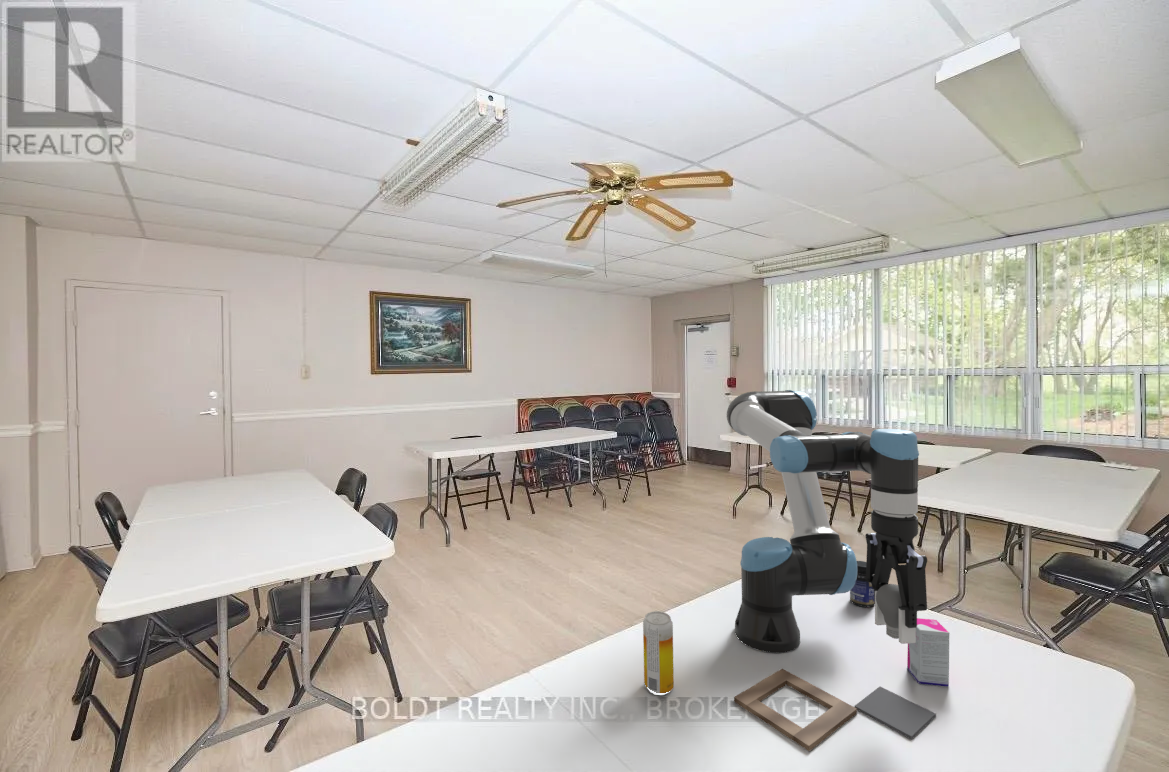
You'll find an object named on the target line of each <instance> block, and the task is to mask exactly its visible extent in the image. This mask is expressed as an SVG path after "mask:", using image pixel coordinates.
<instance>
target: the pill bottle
mask: <svg viewBox="0 0 1169 772" xmlns="http://www.w3.org/2000/svg"><path fill="white" fill-rule="evenodd" d="M856 561H857V579H856V581H855V585H854V587H853V588H852V589H851V590H850V591H849V600H850V602H851V603H853V604H854V605H855V606H858V607H862V608H873V607H875V603H874V589H873V588H872V584H871V583H870V582H867V581H866V561H865V560H856ZM872 576H874V574H872Z"/></svg>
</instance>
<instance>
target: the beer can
mask: <svg viewBox="0 0 1169 772" xmlns="http://www.w3.org/2000/svg"><path fill="white" fill-rule="evenodd" d="M673 626H674V625H673V621H672V618H671V616H670V614H668V613H666V612H664V611H656V610H655V611H650V612H648V613H646V614H645V616H644V619H643V620H642V628H643V630H642V632H643V633H642V635H643V639H642V640H643V641H642V642H643V681H644V682H643V683H645V685H646V687H648V688H649V689H650V690H652V691H654V692H656V693H666V692H669V691H672V690H673V689H674V685H675V679H674V676H675V675H674V629H673V628H674V627H673ZM645 685H644V686H645ZM646 687H645V688H646Z"/></svg>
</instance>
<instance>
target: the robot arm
mask: <svg viewBox="0 0 1169 772" xmlns="http://www.w3.org/2000/svg"><path fill="white" fill-rule="evenodd" d="M817 416H818V414H817V409H816V406H815V403H814V401H813V400H812V398H811V396H809V394H807V393H805V392H804V391H800V390H791V389H787V390H771V391H769V390H768V391H764V390H763V391H756V390H755V391H748V392H745V393H741V394H740V395H737V396H736V397H735V398H734V399H732V401H731V402H730V403H729V405H728V408H727V410H726V420H727V424H728V425H729V427H730V428H731V429H732V430H733V431H734V432H736V433H737V434H738V435H741V436H745V437H749V438H751V440H753V442H755V443H757V444H758V445H760V446H761V447H762V448H764V449H765V450H767V452H769V457H770V461H771V463H772V466H773V468H774V469H775V471H778V472H780V473H781V477H782V482H783V485H784V486H783V487H784V490H785V495H786V499H787V503H788V510H789V513H790V517H791V522H792V526H793V531H794V532H793V534H792V535H791V536H790V538H789V540H787V539H785V538H782V537H773V536H763V537H757V538H753V539H751V540H749V541H747V542H746V543H745V544H744V545H743V546H742V549H741V559H740V568H741V572H740V573H741V603H740V607H739V609H738V612H737V614H736V618H735V621H734V633H736V635H737V637H738V638H739V639H738V638H737V637H736V638H737V639H738V640H739V641H740V642H741V641H742V642H743V643H742V642H741V643H742V644H744V645H745V644H746V645H745V646H747V647H749V648H752V649H754V650H756V651H760V652H764V653H772V654H782V653H783V654H784V653H789V652H792V651H794V650H796V649H797V648H799V646H800V645H801V631H800V628H799V627H798V622H797V620H796V617H795V613H794V611H793V596H814V595H815V596H816V595H818V596H821V595H829V596H833V595H836V594H837V595H838V594H846V593H848V592H849V593H850V590H851V589H852V588H853V587H854V585H855V581H856V579H857V561H858V560H857V557H856V553H855V552H854V550H853V549H852V547H851V546H850V544H848V543H845V542H843V541H841V537H840V534H839V533H838V532H836V531H835V530H834V529H832V528H831V525H830V520H829V518H828V513H827V509H826V505H825V502H824V501H825V500H824V497H823V494H822V489H821V486H820V481H819V478H818V474H817V473H823V472H855V471H857V472H864V473H867V474H870V481H871V482H870V507H871V509H873V510H872V511H871V512H870V525H871V527H870V528H871V530H872V531H873V532H871V533H865V536H864V537H865V541H866V561H865V562H866V581H867V582H870V583H871V584H872V588H873V589H874V603H875V605H874V624H875V625H877V626H886V623H885V620H884V616H883V614H882V612H881V610H880V608H879V607H878V605H877V602H876V593H877V591H878V590H879V588H880V587H882V586H883V585H886V584H889V581H890V578H891V573H892V571H893V570H894V571H895V576H896V581H897V585H898V587H899V592H900V597H901V602H902V606H898V607H899V639H898V643H900V644H901V645H904V644H907V645H908V643H916V627H917V618H918V612H922V611H924V612H925V611H928V601H927V600H928V599H927V598H928V597H927V595H928V594H927V581H926V580H927V579H926V578H927V577H926V574H927V573H926V568H927V564H928V557H927V556H926V555H925V554H924V555H920V554H919V553H918V552H917V551H915V550H916V549H915V546H914V542H913V541H914V538H916V537H917V536H918V534H919V516H917V513H918V511H919V507H918V505H919V499H918V496H919V495H918V490H919V488H918V487H919V456H920V453H919V452H920V451H919V448H918V436H917V434H916V433H915V432H913V431H912V430H908V429H898V428H878V429H877V428H876V429H873V430H872V431H871V434H866V433H863V432H860V431H855V432H854V431H845V432H842V433H840V434H814V435H813V430H814V429H815V428H816V425H817V422H818V421H817ZM872 574H874V576H872ZM908 602H909V603H908ZM736 635H735V636H736Z"/></svg>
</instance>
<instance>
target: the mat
mask: <svg viewBox="0 0 1169 772" xmlns="http://www.w3.org/2000/svg"><path fill="white" fill-rule="evenodd" d="M854 707H855V708H857V712H860V713H862V714H863V715H865V716H867V717H869V718H871V719H872V720H875V721H876V722H878V723H880V724H882V725H884V726H885V727H887V728H889V729H891V730H892V731H895V732H897V733H899V734H900V735H902V736H904V737H906V738H908V739H909V740H913V739H914V738H915V737H916V736H918V735H919V733H920V732H921V731H922V730H924V728H925V727H927V726H928V725H929V724H930V723H931V722H932V721H933V720H934V719H936V716H937V715H936V714H937V713H936V712H934V711H932V710H929V709H927V708H925V707H923V706H922V705H919V704H917V703H915V702H913V701H911V700H909V699H907V698H906V697H903V696H901V695H898V694H897V693H894V692H893V691H891V690H889V689H886V688H884V687H883V686H878V687H877V688H876V689H874V690H873V691H872V692H870V693H869V694H867V695H866V696H865V697H863V698H862V699H861V700H860V701H859V702H857V703H856V704H855V705H854Z"/></svg>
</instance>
